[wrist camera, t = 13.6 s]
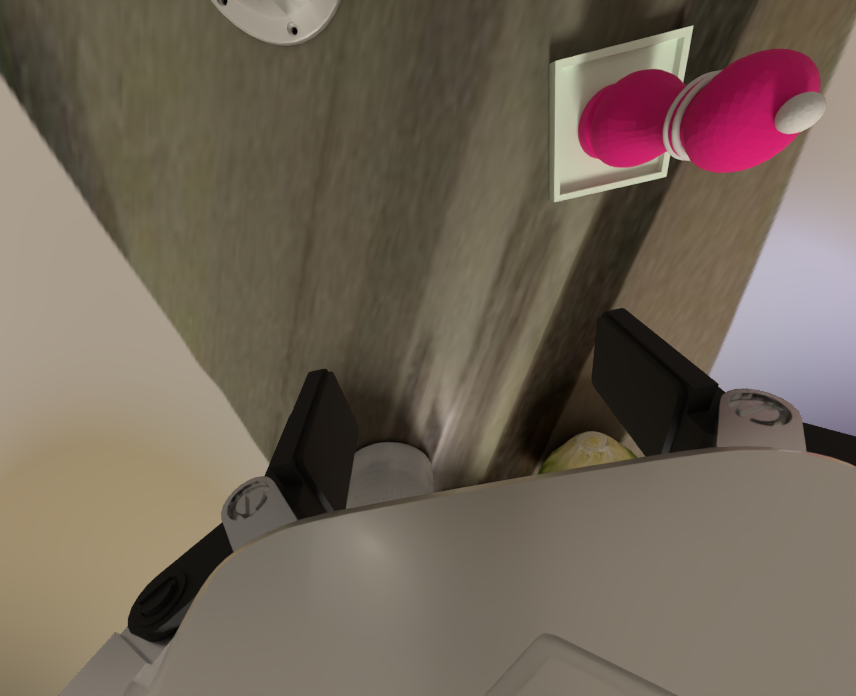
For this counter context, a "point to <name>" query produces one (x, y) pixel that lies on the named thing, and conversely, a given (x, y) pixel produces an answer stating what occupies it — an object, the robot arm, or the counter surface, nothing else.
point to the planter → (388, 474)
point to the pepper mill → (705, 113)
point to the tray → (577, 86)
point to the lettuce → (586, 452)
